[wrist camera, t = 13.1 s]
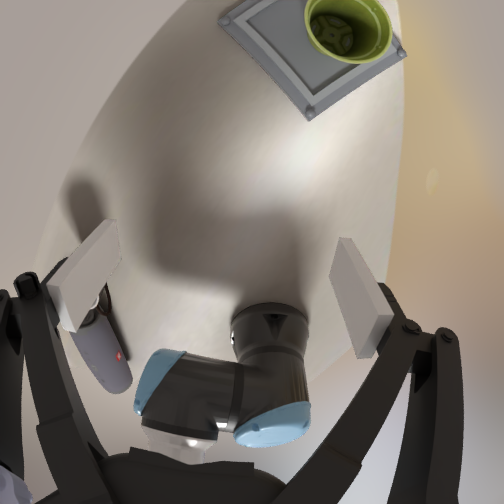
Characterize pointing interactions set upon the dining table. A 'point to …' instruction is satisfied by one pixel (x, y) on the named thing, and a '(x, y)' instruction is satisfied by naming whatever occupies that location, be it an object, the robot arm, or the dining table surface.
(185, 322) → the dining table surface
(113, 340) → the bluetooth speaker
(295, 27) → the base plate
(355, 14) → the plant pot
